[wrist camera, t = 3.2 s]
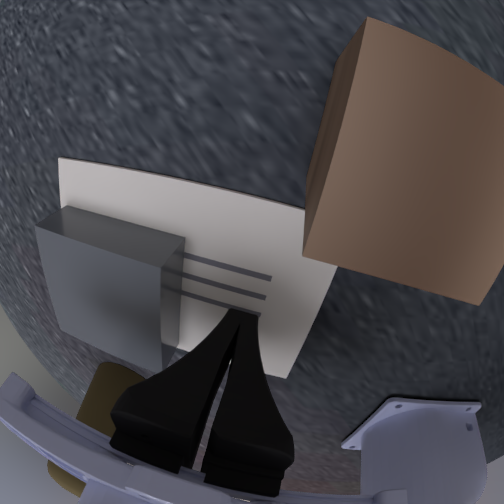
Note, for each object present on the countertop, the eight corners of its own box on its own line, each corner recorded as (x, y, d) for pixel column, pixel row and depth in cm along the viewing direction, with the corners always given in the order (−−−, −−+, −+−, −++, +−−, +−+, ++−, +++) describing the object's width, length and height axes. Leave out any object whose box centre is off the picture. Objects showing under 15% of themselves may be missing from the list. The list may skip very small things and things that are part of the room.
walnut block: (447, 106, 8) (553, 128, 3) (413, 210, 10) (478, 305, 5) (335, 61, 8) (367, 16, 3) (306, 176, 11) (301, 256, 6)
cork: (89, 353, 20) (20, 458, 10) (154, 375, 19) (91, 504, 10) (109, 394, 23) (60, 485, 13) (167, 414, 22) (123, 519, 13)
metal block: (185, 237, 13) (160, 267, 10) (178, 343, 16) (162, 375, 14) (66, 205, 13) (34, 225, 11) (82, 305, 17) (60, 329, 14)
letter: (352, 222, 11) (353, 225, 11) (286, 375, 16) (286, 378, 16) (61, 156, 12) (58, 158, 12) (79, 306, 17) (77, 308, 17)
